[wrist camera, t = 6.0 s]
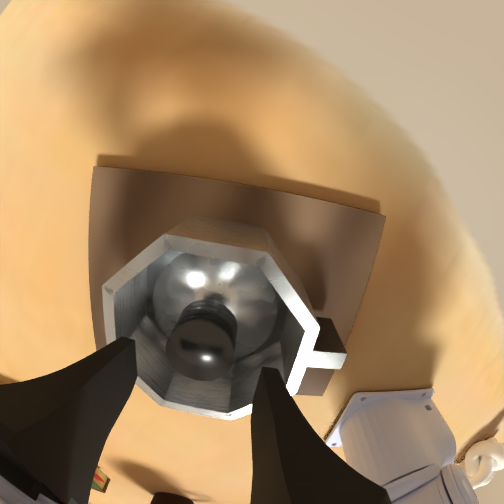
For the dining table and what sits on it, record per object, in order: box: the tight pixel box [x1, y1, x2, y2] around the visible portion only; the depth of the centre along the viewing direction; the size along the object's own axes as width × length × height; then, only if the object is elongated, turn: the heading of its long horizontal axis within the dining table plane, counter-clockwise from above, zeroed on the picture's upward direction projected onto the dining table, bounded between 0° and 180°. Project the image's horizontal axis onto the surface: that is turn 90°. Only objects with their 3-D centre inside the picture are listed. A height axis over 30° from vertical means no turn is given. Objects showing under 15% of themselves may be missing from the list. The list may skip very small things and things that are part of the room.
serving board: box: [89, 166, 386, 396], centre depth 17 cm, size 18×14×1 cm
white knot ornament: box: [458, 437, 504, 489], centre depth 22 cm, size 11×12×9 cm
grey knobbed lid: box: [153, 253, 277, 381], centre depth 13 cm, size 7×7×5 cm
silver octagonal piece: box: [102, 215, 347, 420], centre depth 14 cm, size 12×10×5 cm
